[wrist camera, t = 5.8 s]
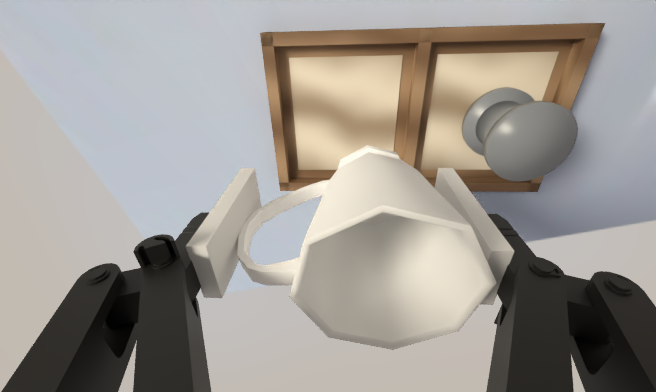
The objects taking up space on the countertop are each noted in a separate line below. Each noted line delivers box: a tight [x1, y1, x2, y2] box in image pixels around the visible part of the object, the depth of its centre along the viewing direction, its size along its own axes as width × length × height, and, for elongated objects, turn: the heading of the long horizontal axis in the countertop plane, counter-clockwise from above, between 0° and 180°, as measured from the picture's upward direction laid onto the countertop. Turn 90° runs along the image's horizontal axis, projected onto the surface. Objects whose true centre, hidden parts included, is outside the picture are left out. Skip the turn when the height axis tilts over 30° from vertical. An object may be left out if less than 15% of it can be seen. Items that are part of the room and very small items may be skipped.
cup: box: [237, 145, 496, 350], centre depth 13 cm, size 7×10×8 cm
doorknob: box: [462, 87, 578, 181], centre depth 25 cm, size 6×6×6 cm
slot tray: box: [260, 23, 605, 192], centre depth 28 cm, size 15×27×2 cm, turn 91°
